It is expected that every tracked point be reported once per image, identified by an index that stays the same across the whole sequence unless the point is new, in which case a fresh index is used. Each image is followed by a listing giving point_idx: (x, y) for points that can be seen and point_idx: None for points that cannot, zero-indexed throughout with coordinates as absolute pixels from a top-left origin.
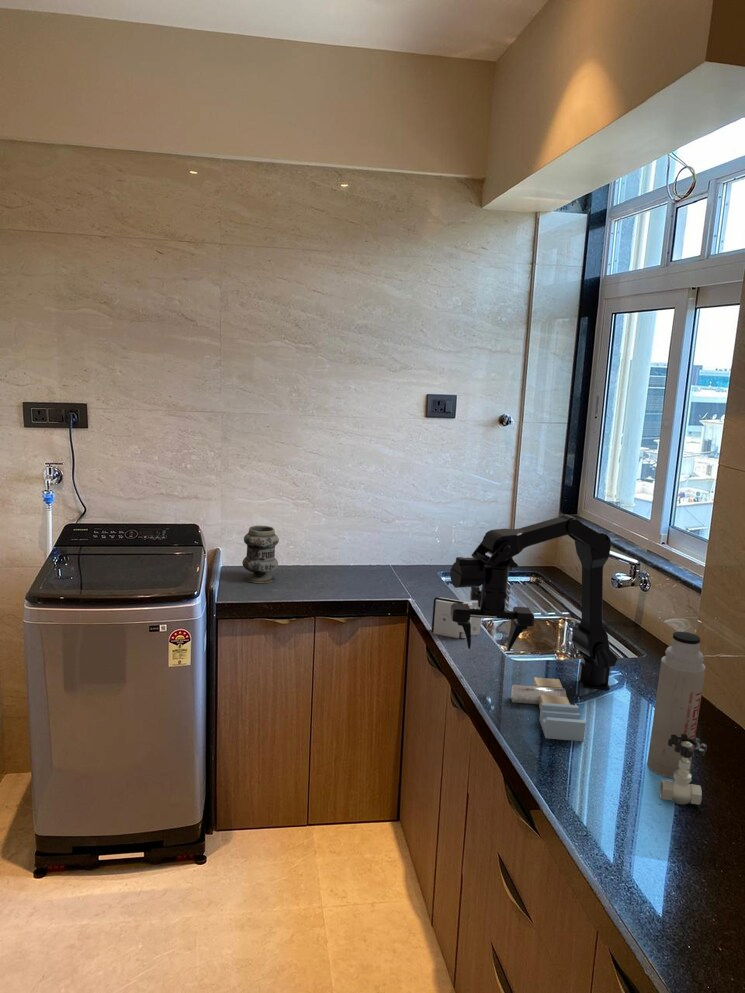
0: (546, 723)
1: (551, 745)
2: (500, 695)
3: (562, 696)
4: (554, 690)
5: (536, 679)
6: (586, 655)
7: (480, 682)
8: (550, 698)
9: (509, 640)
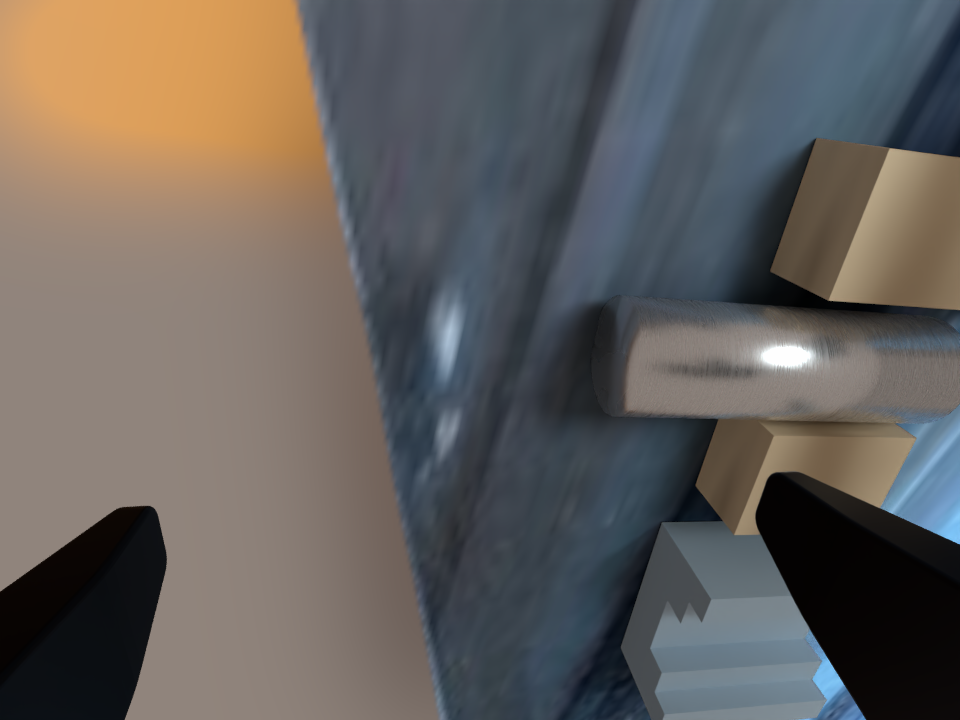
0: (649, 700)
1: (622, 682)
2: (542, 266)
3: (898, 422)
4: (889, 409)
5: (884, 190)
6: None
7: (434, 26)
8: (808, 471)
9: (889, 666)
